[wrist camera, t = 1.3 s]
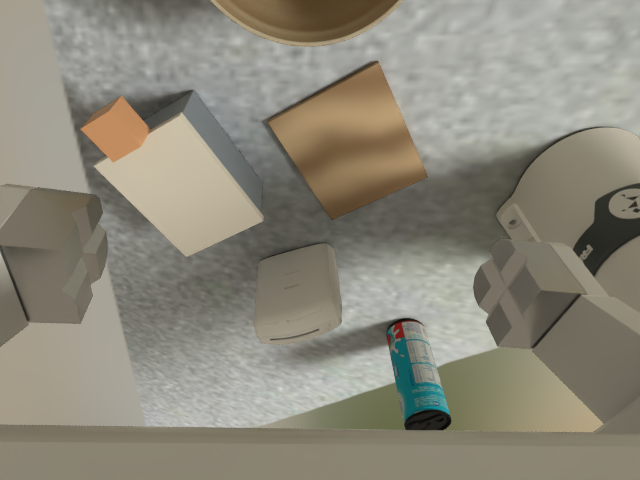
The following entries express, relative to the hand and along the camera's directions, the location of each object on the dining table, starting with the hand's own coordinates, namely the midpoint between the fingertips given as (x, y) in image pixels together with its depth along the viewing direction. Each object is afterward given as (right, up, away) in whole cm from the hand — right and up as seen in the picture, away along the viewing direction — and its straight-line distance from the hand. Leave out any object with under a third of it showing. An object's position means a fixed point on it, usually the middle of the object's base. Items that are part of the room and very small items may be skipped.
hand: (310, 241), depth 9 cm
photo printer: (-3, -2, +46) cm, 47 cm away
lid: (-13, +6, +31) cm, 35 cm away
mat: (+4, +10, +36) cm, 38 cm away
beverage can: (+13, -14, +57) cm, 60 cm away
